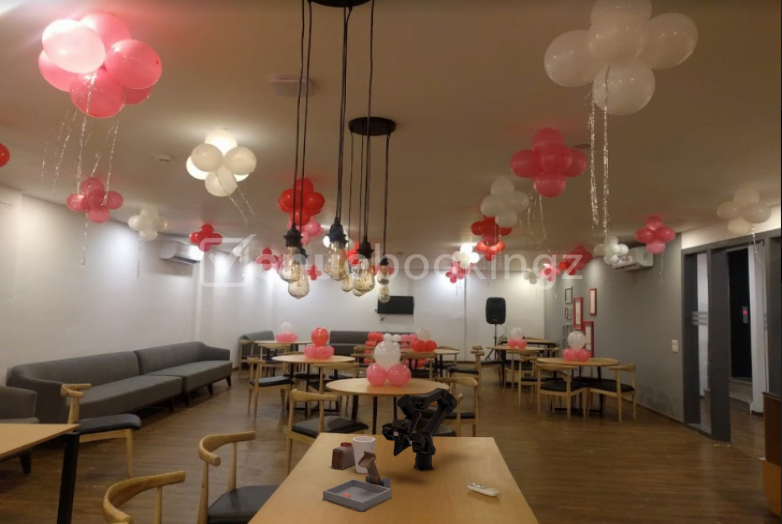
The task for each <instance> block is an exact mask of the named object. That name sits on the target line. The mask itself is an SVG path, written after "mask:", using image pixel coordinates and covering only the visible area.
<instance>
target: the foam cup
mask: <svg viewBox="0 0 782 524" xmlns="http://www.w3.org/2000/svg"><path fill="white" fill-rule="evenodd" d="M352 443H353V448H354V458H355V464H354V465H355V466H354V467H355V472H356V473H358V474H368V471H367V469H366V468H364V467H360V466H359V465H358V461H359V460H360V459H361V458H362V456H363V455H364V451H368V452H372V453H375V446H376V438H375V437H372V436H365V435H363V436H362V435H360V436H355V437H353V438H352Z"/></svg>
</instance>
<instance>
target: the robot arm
mask: <svg viewBox="0 0 782 524" xmlns="http://www.w3.org/2000/svg"><path fill="white" fill-rule="evenodd" d="M434 402H436V405H437V406H436V407H437V408H436V410H435V412H433V414H432V416H431V418H430V419H429V421H428V422H427V424H426V426H425V427H424V428H423V429H422V430H421V429H417V428H416V427H417V424H418V422H419V420H423V416H422V412H421V411H426V410H427V409H429V408H430V404H432V403H434ZM396 406H397V407H398V408H399V410H400V412H401V413H402V414H403V416H404V418H403V419H398V418H393V419H392V425H391V427H382V430H381V431H380V434H382V436H383V437H384V438H385V440H387V441H389V442H394V443H393V453H392V454H393V457H398V456H399V455H400V454H401V453H403V451H405V450H406V449H407V448H409V447H411V449H412V453H415V457H414V465H413V467H414V468H416V469H418V470H419V471H422V472H423V471H429V470H434V469H435V467H433V456H435V454H436V450H437V449H436V447H435V445H434V436H435V435H436V433H437V431H438V430H439V428H440V426H441V425H442V423H443V422H444V420H445V418H446V416H447V415H450V414H452V413H453V412H454V411H455V410H456V408H457V407H458V401H457V398H456V397H455V395H454V394H451V393H450V392H449V391H448V390H447V389H446V388H442V387H436V388H435V389H433V390H431V391H428V392H426V393H424V394H413V395H410V394H406V393H405V394H404V396H401V397H400V398H398V400H396ZM392 427H393V428H395V431H394V430H393V428H392Z"/></svg>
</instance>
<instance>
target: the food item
mask: <svg viewBox="0 0 782 524" xmlns="http://www.w3.org/2000/svg"><path fill="white" fill-rule="evenodd" d="M354 465H355V458H354V448H353V442H350V441H349V442H347V441H345V442H341V443H340V446H338V447H335V448H333V449H332V455H331V465H330V466H331V468H332V469H336V470H340V471H343V470H344V469H346V468H348V467H350V468H351V466H352V467H353V466H354Z"/></svg>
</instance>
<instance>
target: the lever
mask: <svg viewBox="0 0 782 524" xmlns="http://www.w3.org/2000/svg"><path fill="white" fill-rule="evenodd" d="M376 460H377V456H376V453H375V452H374V453H372V452H368V451H364V455H363V456H362V458H361V459H360V460H359V461H358V465H359V466H360V467H364V468H366V469H367V471H368V473H367V474H368V475H369V477H370V479H371V482H372V484H375V485H379V480H380V479H382V478H381V475H380V474H379V470H378V468H377V465H376V463H375V461H376Z"/></svg>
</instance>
